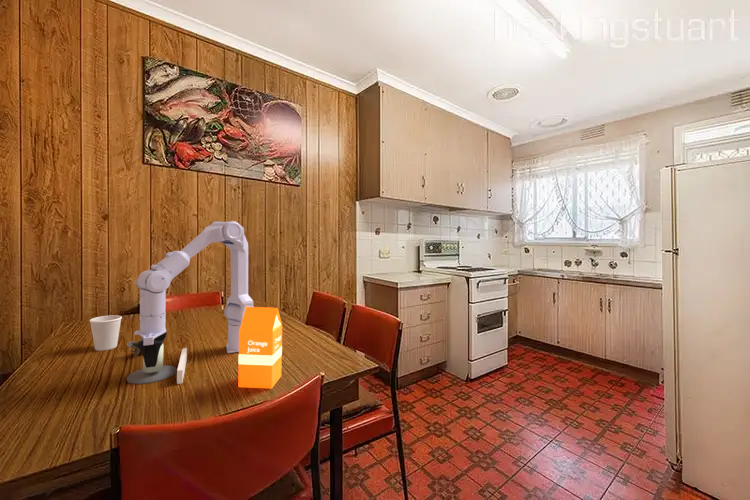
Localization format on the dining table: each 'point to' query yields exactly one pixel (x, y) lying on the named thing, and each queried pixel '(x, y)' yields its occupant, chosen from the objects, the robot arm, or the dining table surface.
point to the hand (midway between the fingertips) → (152, 363)
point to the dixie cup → (105, 331)
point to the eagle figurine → (135, 347)
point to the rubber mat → (151, 375)
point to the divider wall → (181, 366)
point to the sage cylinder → (158, 365)
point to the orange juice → (260, 348)
